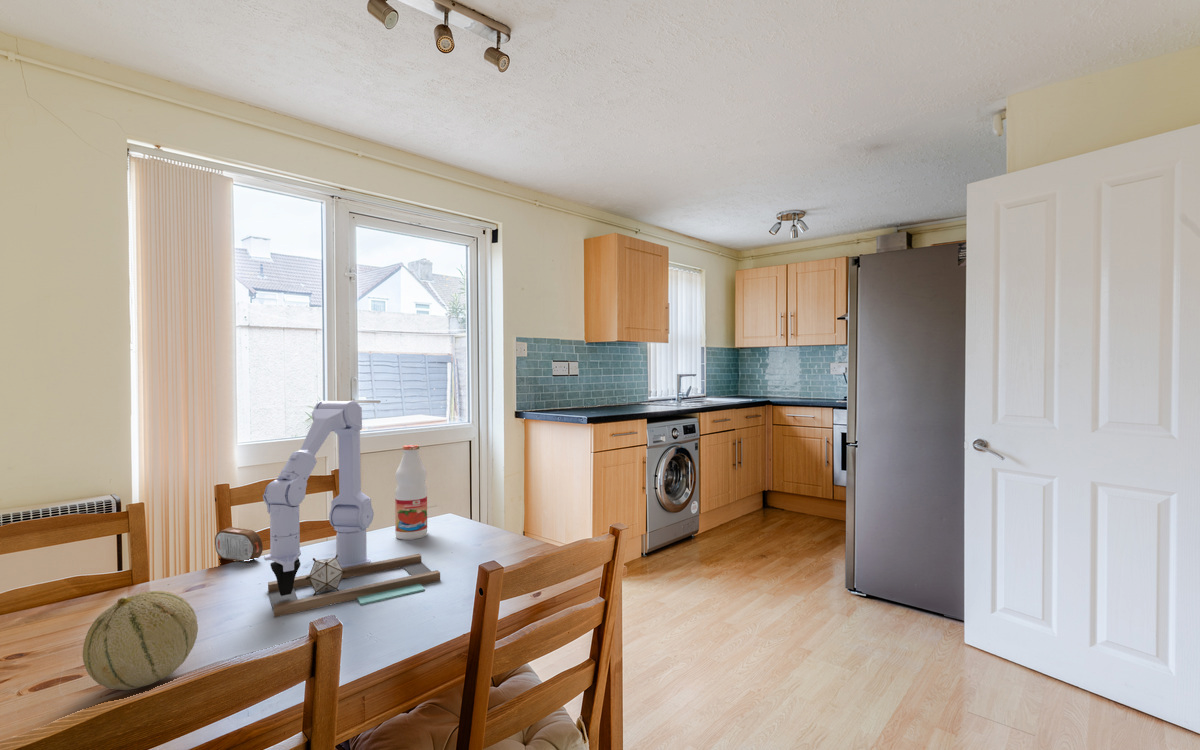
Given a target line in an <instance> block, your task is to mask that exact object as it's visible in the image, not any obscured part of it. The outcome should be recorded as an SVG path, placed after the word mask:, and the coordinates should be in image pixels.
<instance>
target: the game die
mask: <svg viewBox="0 0 1200 750" xmlns="http://www.w3.org/2000/svg"><path fill="white" fill-rule="evenodd" d="M334 557H335V558H333V557H332V558H325V559H316V558H314V557H313V558H312V561H313V564H312V567H311V570H310V573H309V574H310V575H309V574H308V575H309V576H307V577H306V580H308V579H309V581H310V583H311V585H310V586H311V587H312V589H313V592H314V593H313V594H312V595H313V596H316V595H317V594H318V593H325V592H328V591H329V592H330V591H334V590H336V591H340V589H339V588H338V587H339V585H340V582H341V580H342V579H341V577H342V575H343V574H344V573H345V572H346V570H344V571H343V570H342V568H341V566H340V564H339V562H338V560H337V557H338V554H337V555H335V556H334Z"/></svg>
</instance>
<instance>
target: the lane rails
mask: <svg viewBox="0 0 1200 750" xmlns="http://www.w3.org/2000/svg"><path fill="white" fill-rule="evenodd" d="M420 562H422V555H421V554H420V553H415V554H411V555H406V556H400V557H394V558H389V559H384V560H383V559H382V560H378V561H374V562H373V561H372V562H371V563H367V564H362V565H356V566H351V567H346V568H342V570H343V571H344V570H346V572H345V573H344V574H343V575H342V577H341V580H344V579H343V578H345V579H349V578H348V577H350V578H354V576H355V577H358V576H365V575H370V574H375V573H379V571H380V572H385V571H389V570H395V569H399V567H400V568H403V567H402V566H405V565H410V564H415V563H420ZM384 570H385V571H384ZM374 572H375V573H374ZM309 575H310V573H309V574H306V575H300V576H295V579H294V584H293V588H294V590H295V589H299V588H304V587H309V585H310V586H312V585H311V583H310V581H309V579H308V580H306V577H307V576H309ZM440 581H441V572H440V571H439V570H438V569H435V570H431V572H426V573H421V574H416V575H412V576H410V575H408V576H402V577H398V578H393V579H389V580H384V581H379V582H374V583H370V584H364V585H360V586H356V587H354V586H353V587H351V588H346V589H339V591H331V592H327V593H322V594H318V595H317V594H316V595H315V596H314V595H313V596H307V597H303V598H299V599H297V600H292V601H288V602H283V603H278V604H274V612H273V615H274V618H277V617H282V616H288V615H290V614H292V615H293V614H296V613H300V612H305V611H309V610H314V609H319V608H322V607H327V606H326V605H328V606H331V605H330V604H332V605H335V604H334V603H337V604H340V603H339V602H342V603H345V601H346V602H350V601H353V600H354V601H355V600H357V597H361V596H365V595H370V594H374V593H379V592H383V591H388V590H393V589H397V588H402V587H406V586H411V585H415V584H421V585H422V586H423V585H426V584H432V583H435V582H436V583H437V582H440ZM274 591H279V588H278V583H277V580H274V581H268V582H267V592H268V593H269V592H274Z"/></svg>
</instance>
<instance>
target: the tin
mask: <svg viewBox="0 0 1200 750" xmlns="http://www.w3.org/2000/svg"><path fill="white" fill-rule="evenodd" d="M214 546H215V551H216V553H217V554H218V556H219V557H220V558H222V559H223V560H227V561H233V562H234V561H235V562H239V561H244V560H249V559H254V558H258V559H259V558H260V557H261V555H263V554H262V553H263V551H264V547H263V541H262V538H261V536H260V535H259V534H258V533H257V531H255V530H253V529H247V528H240V527H239V528H238V527H232V526H229V527H227V528H225V529H221V530H220V531H218V532H216V535H215V537H214ZM250 562H252V561H251V560H250ZM250 562H249V561H245V562H244V563H250Z"/></svg>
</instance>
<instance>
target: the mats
mask: <svg viewBox="0 0 1200 750" xmlns="http://www.w3.org/2000/svg"><path fill="white" fill-rule="evenodd" d="M401 568H403V570H404V571H405V572H406V571H407V572H408V573H409V574H410V575H411V576H412V575H416V574H421V573H426V572H431V571H432V570H431V569H429V567H428V566H426V565H425V564H424V563H423V562H422V561H421V562H420V563H415V564H410V565H405V566H402V567H401ZM407 572H406V573H407ZM409 574H408V575H409ZM410 575H409V576H410ZM268 595H269V599H270V605H271V607H272V612H273V613H274V604H278V603H283V602H288V601H292V600H297V599H298V596H297V593H296V591H295V589H294V588H293V589H292V593H291V594H289V595H284V596H281V595H280V592H279V591H274V592H268Z"/></svg>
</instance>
